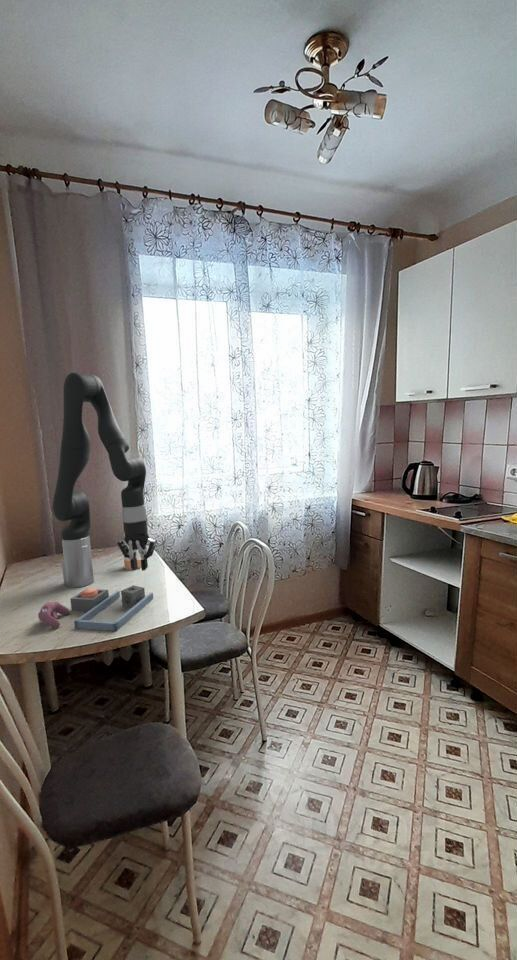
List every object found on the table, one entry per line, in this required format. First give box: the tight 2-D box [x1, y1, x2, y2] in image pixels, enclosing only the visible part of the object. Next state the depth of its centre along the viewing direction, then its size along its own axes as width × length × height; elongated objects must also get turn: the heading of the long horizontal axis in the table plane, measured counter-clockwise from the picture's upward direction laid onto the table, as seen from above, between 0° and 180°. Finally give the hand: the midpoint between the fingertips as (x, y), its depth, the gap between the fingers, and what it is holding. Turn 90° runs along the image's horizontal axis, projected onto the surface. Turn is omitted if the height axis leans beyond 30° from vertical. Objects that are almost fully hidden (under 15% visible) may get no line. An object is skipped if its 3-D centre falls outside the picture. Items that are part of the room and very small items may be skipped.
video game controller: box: [37, 599, 70, 629], centre depth 126 cm, size 10×5×7 cm, turn 6°
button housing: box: [70, 588, 110, 613], centre depth 135 cm, size 8×8×4 cm
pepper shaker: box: [120, 523, 142, 571], centre depth 171 cm, size 7×7×19 cm
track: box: [74, 590, 154, 632], centre depth 130 cm, size 13×22×2 cm, turn 167°
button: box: [80, 587, 98, 598], centre depth 135 cm, size 5×5×3 cm
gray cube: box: [120, 585, 146, 609], centre depth 135 cm, size 5×5×5 cm
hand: (139, 569), depth 144 cm, fingers open, 2 cm apart
